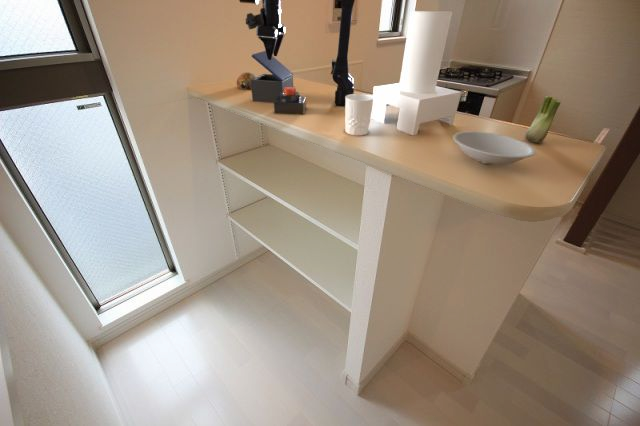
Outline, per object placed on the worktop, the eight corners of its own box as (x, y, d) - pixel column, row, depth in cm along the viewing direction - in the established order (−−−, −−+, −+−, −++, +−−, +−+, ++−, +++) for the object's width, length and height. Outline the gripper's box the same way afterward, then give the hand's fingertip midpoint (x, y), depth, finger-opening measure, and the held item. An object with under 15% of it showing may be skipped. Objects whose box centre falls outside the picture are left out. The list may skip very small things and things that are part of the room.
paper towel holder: (412, 135, 87) (436, 12, 70) (370, 118, 100) (381, 10, 83) (452, 124, 96) (483, 12, 79) (409, 110, 109) (426, 11, 92)
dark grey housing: (252, 101, 116) (250, 79, 112) (265, 93, 126) (263, 73, 122) (283, 103, 114) (281, 82, 109) (293, 96, 124) (292, 75, 119)
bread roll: (262, 95, 138) (265, 77, 136) (246, 89, 129) (250, 69, 127) (246, 92, 142) (249, 75, 140) (230, 86, 133) (233, 67, 131)
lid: (251, 56, 107) (252, 54, 106) (265, 52, 117) (266, 50, 117) (281, 81, 109) (282, 79, 109) (292, 75, 119) (293, 73, 119)
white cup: (369, 128, 92) (373, 94, 87) (370, 137, 86) (374, 101, 80) (343, 126, 93) (345, 93, 87) (342, 135, 86) (345, 100, 81)
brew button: (296, 93, 105) (296, 86, 103) (294, 95, 101) (294, 89, 100) (285, 92, 105) (285, 86, 104) (283, 95, 102) (282, 89, 100)
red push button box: (306, 108, 109) (305, 91, 106) (303, 114, 103) (302, 96, 99) (279, 107, 110) (277, 90, 106) (274, 113, 103) (273, 95, 100)
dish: (531, 162, 73) (540, 143, 70) (520, 184, 64) (529, 163, 61) (458, 144, 82) (463, 126, 79) (439, 161, 73) (444, 142, 70)
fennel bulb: (543, 146, 82) (564, 101, 75) (523, 142, 84) (541, 98, 77) (542, 139, 86) (562, 96, 79) (523, 136, 88) (540, 93, 81)
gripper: (254, 3, 106) (257, 52, 115) (238, 3, 91) (242, 59, 100) (285, 5, 106) (285, 55, 115) (274, 5, 91) (275, 62, 100)
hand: (272, 57), depth 107 cm, fingers open, 9 cm apart
